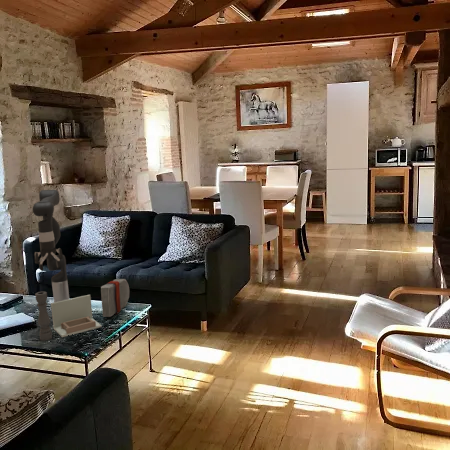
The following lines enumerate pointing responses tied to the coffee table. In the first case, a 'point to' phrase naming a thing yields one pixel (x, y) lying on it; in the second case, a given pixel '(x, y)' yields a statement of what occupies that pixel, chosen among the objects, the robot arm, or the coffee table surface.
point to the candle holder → (43, 316)
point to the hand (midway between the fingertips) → (50, 269)
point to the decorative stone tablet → (114, 297)
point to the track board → (73, 316)
